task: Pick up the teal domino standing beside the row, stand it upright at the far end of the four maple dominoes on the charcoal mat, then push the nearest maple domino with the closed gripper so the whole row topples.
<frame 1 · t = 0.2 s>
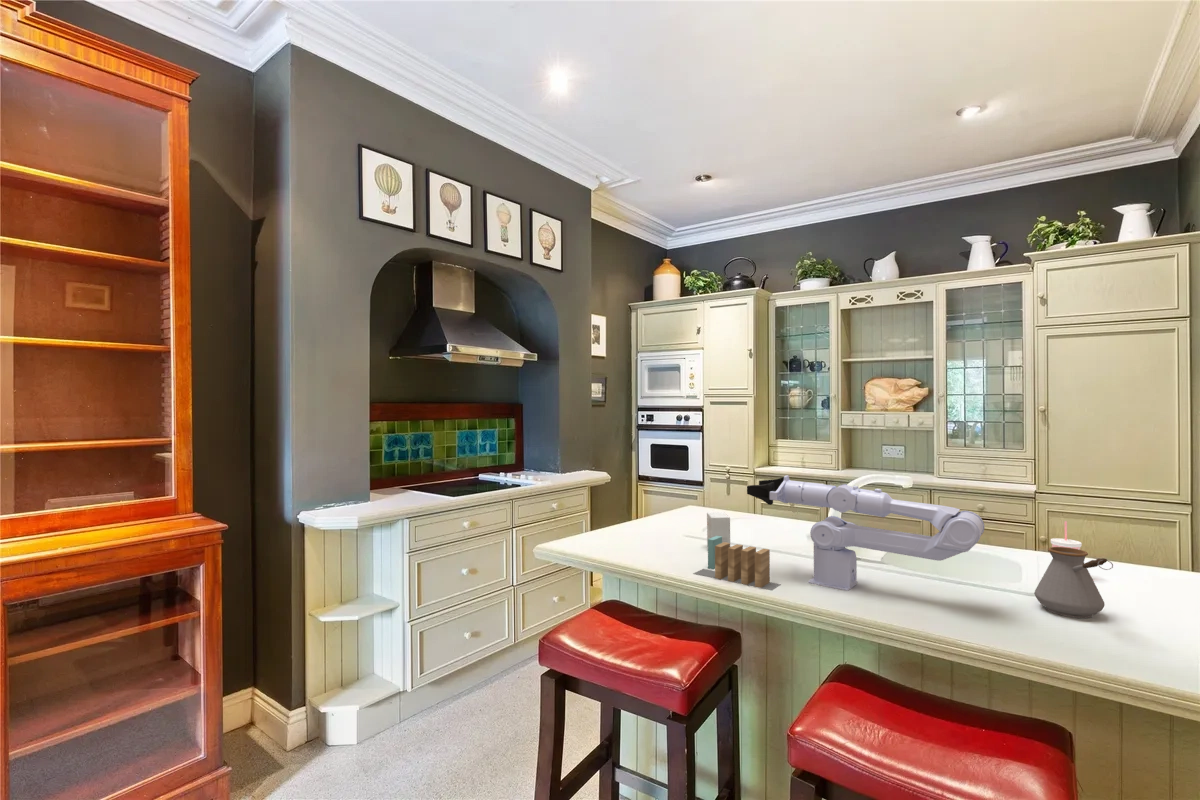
hand: (753, 487, 152), 22 cm above the table, tool horizontal, fingers open, 7 cm apart
domino 1: (762, 584, 138), resting on mat
domino 4: (722, 576, 145), resting on mat
teal domino: (715, 567, 153), on the table
beverage cup: (1066, 577, 145), on the table
coffee pot: (1079, 621, 116), on the table
domino 3: (735, 578, 143), resting on mat
mat: (735, 580, 143), on the table
domino 2: (748, 581, 140), resting on mat
small box: (718, 550, 172), on the table
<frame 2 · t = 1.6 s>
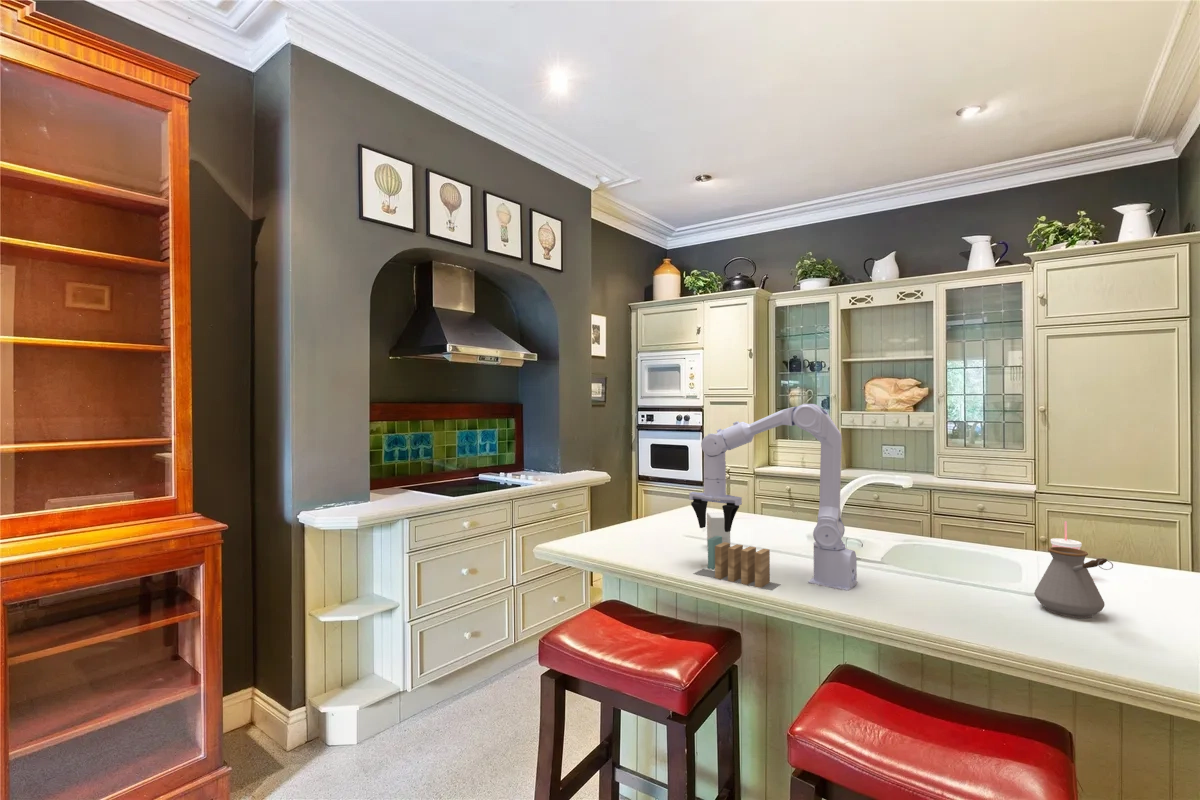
hand: (714, 529, 153), 10 cm above the table, tool pointing down, fingers open, 7 cm apart
nothing on the table moved.
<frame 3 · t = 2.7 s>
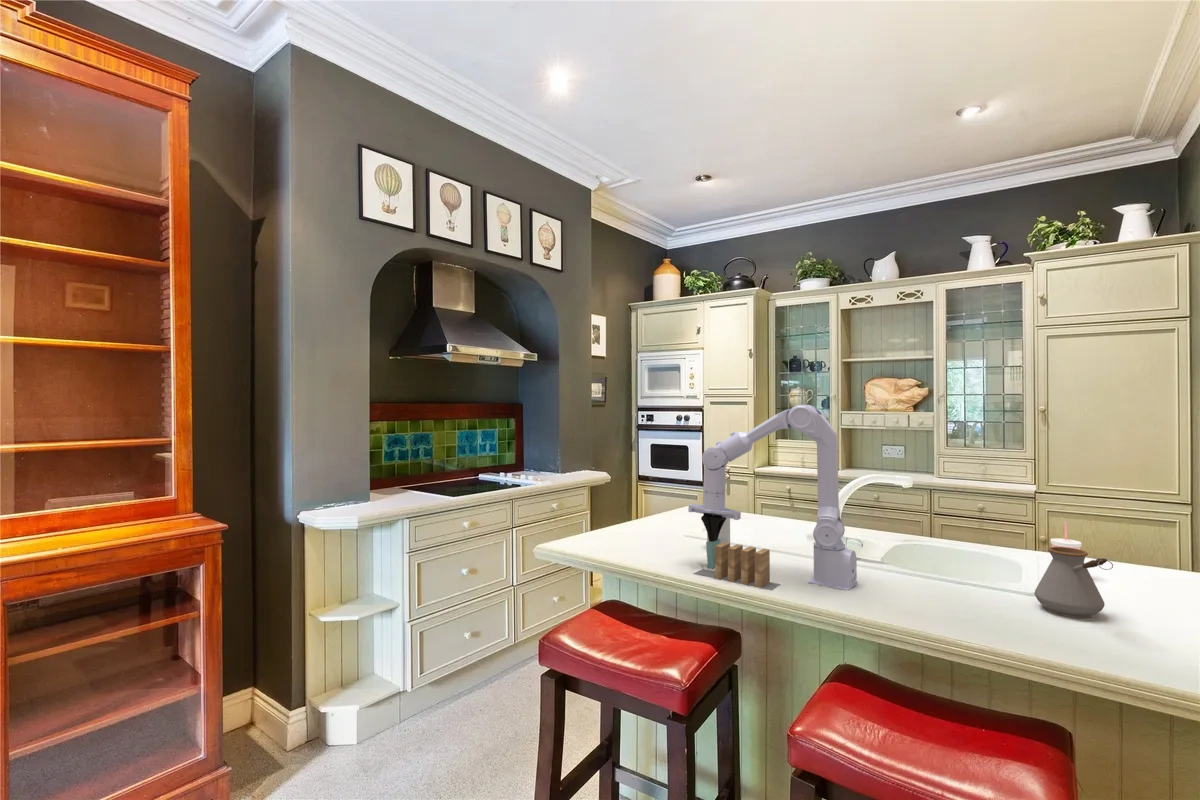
hand: (713, 542, 154), 7 cm above the table, tool pointing down, fingers closed, pressing on teal domino
teal domino: (715, 570, 153), on the table, touching gripper
everything else where it was.
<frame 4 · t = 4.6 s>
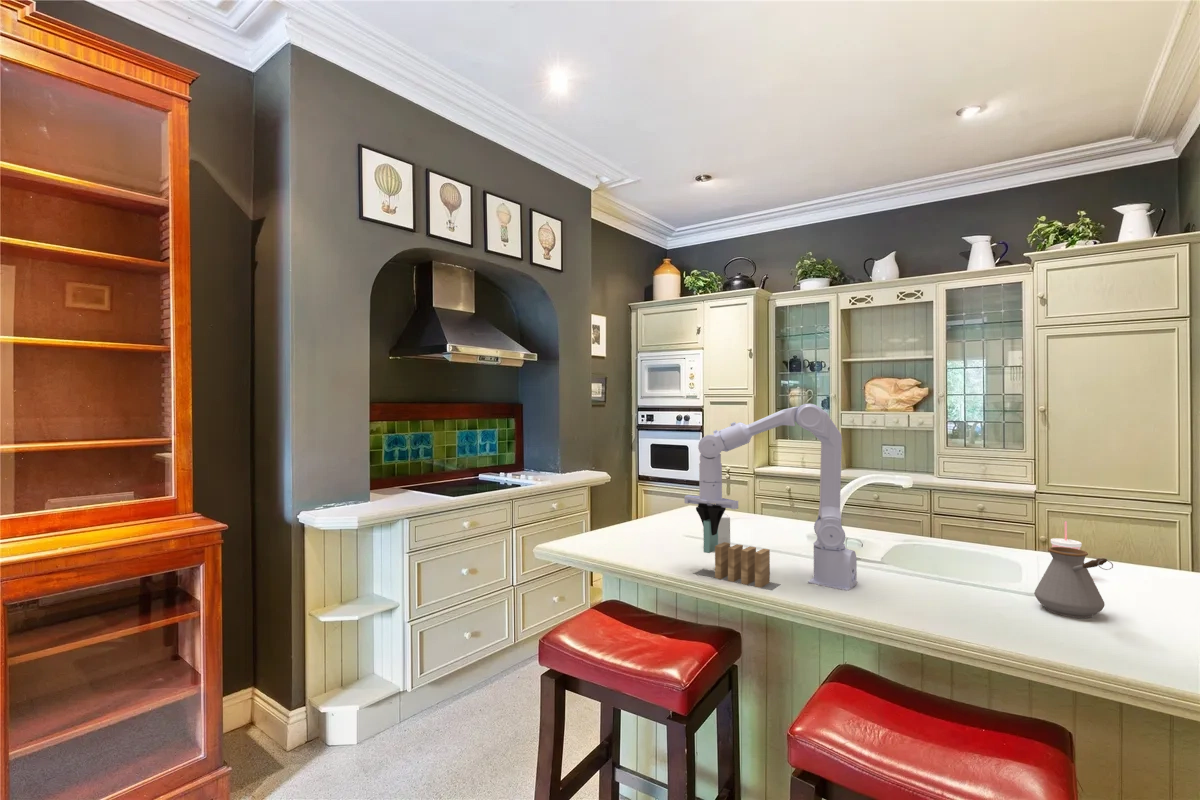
hand: (710, 534, 148), 10 cm above the table, tool pointing down, fingers closed on teal domino
teal domino: (710, 550, 148), point 6 cm above the table, touching gripper
everything else where it was.
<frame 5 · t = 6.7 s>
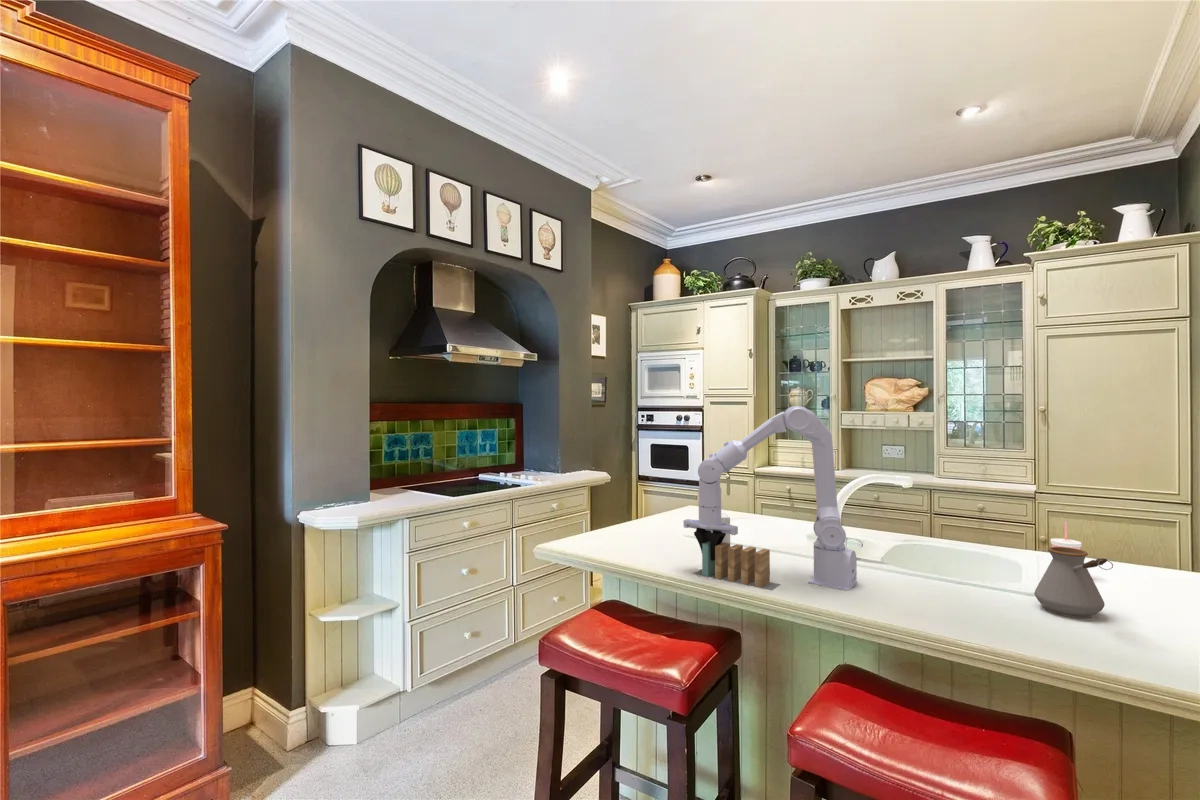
hand: (710, 559, 147), 4 cm above the table, tool pointing down, fingers closed on teal domino, 2 cm apart
domino 4: (722, 576, 145), resting on mat, touching gripper
teal domino: (710, 573, 147), resting on mat, touching gripper
everything else where it was.
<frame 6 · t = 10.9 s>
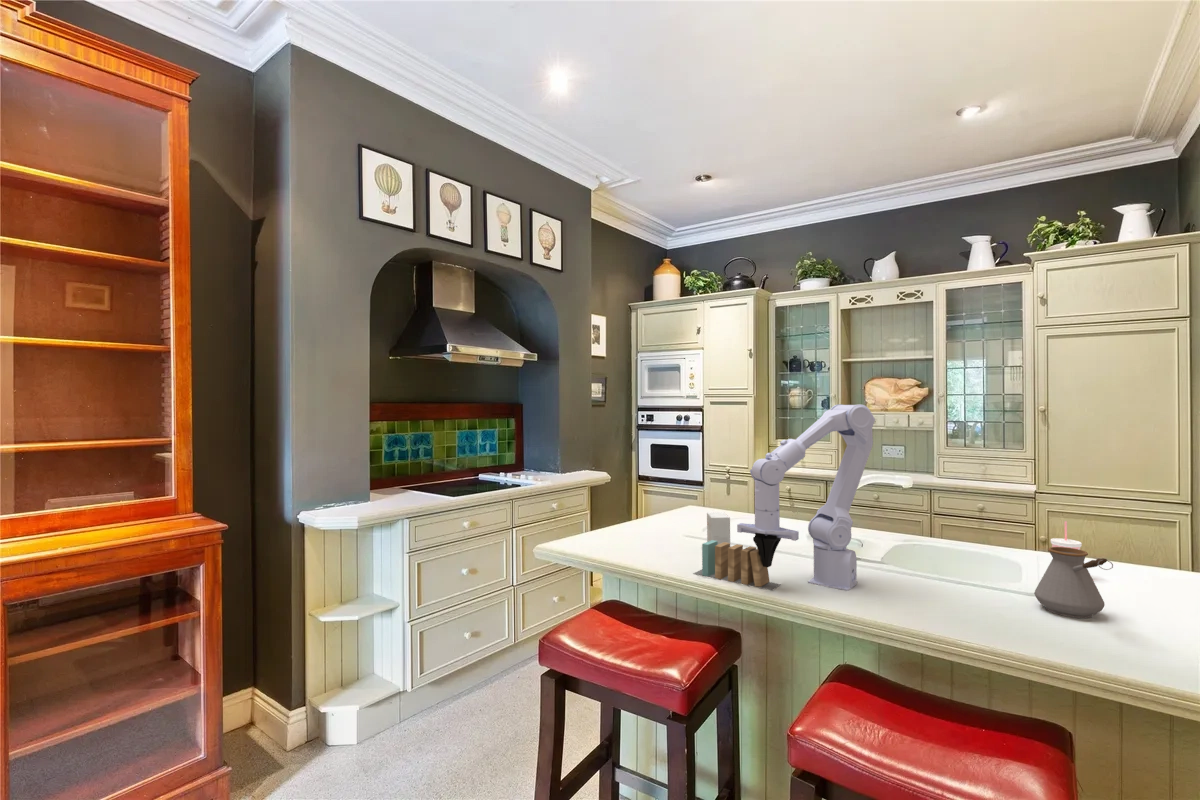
hand: (767, 566, 138), 5 cm above the table, tool pointing down, fingers closed
domino 1: (762, 583, 138), resting on mat, tilted 9°
domino 4: (722, 576, 145), resting on mat
teal domino: (710, 573, 147), resting on mat
everything else where it was.
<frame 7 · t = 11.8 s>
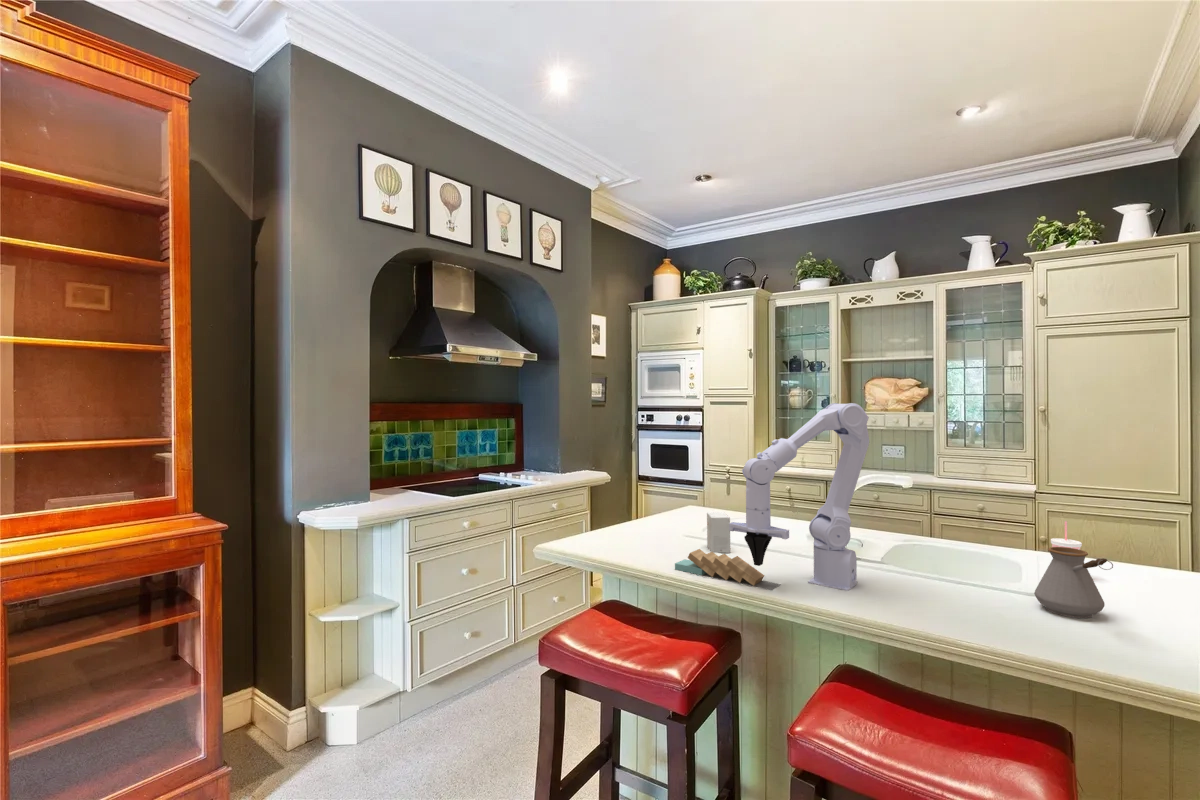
hand: (758, 564, 139), 5 cm above the table, tool pointing down, fingers closed
domino 1: (759, 580, 139), point 1 cm above the table, tilted 63°, touching domino 2, mat
domino 4: (718, 572, 146), point 1 cm above the table, tilted 63°, touching domino 3, teal domino
teal domino: (706, 569, 148), point 1 cm above the table, tilted 90°, touching domino 4, mat
domino 3: (732, 575, 143), point 1 cm above the table, tilted 63°, touching domino 2, domino 4, mat
domino 2: (745, 577, 141), point 1 cm above the table, tilted 63°, touching domino 1, domino 3
everything else where it was.
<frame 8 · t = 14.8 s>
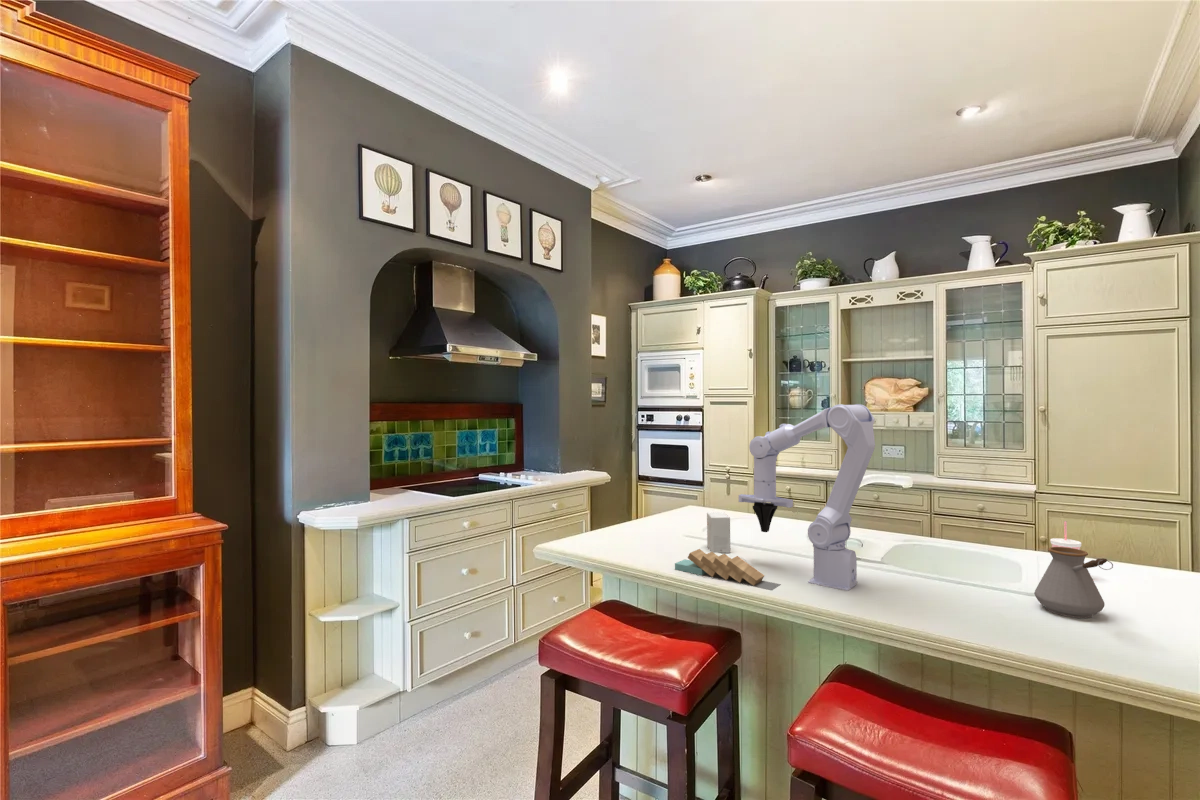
hand: (765, 531, 155), 9 cm above the table, tool pointing down, fingers closed
nothing on the table moved.
at the end: teal domino tilted 90°; teal domino inside the target area (0.0 cm from its centre), point 1.1 cm above the table; domino 1 tilted 63° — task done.
